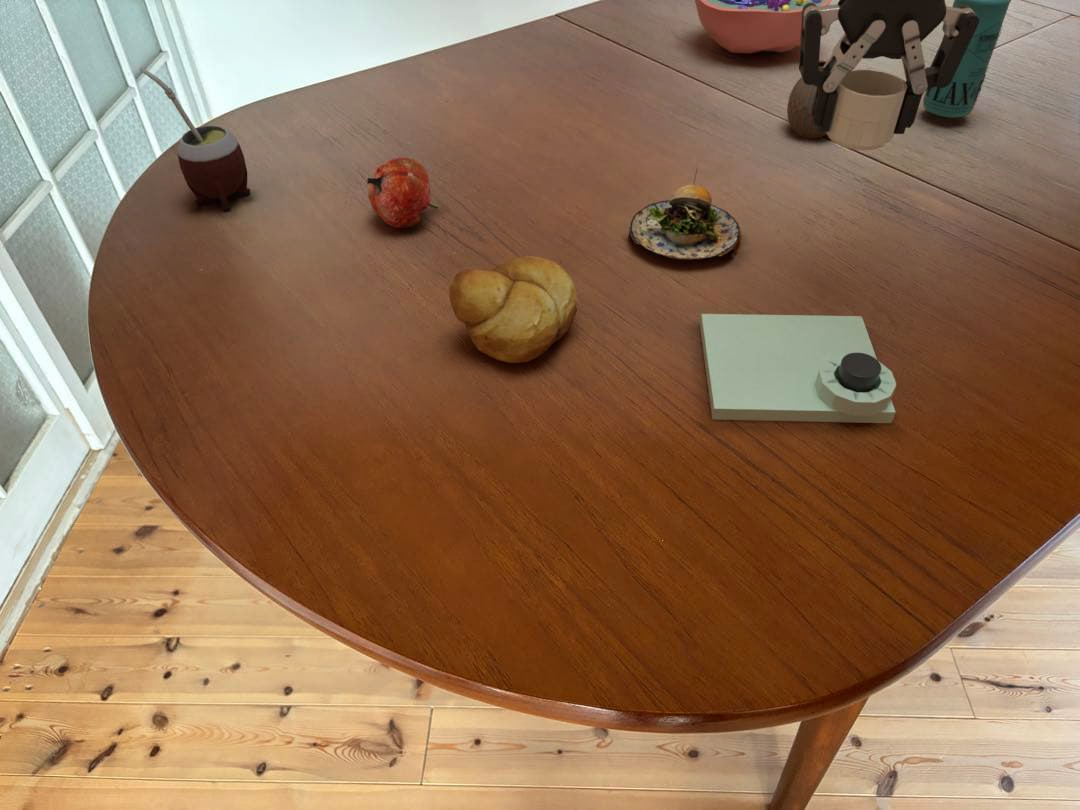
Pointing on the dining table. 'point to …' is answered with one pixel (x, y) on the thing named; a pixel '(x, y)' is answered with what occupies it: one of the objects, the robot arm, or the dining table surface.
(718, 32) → the cell model
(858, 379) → the button
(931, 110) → the beverage bottle
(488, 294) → the bread roll
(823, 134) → the vase
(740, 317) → the scale
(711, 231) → the burger
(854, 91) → the cup
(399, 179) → the pomegranate
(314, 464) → the dining table surface
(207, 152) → the mate gourd
